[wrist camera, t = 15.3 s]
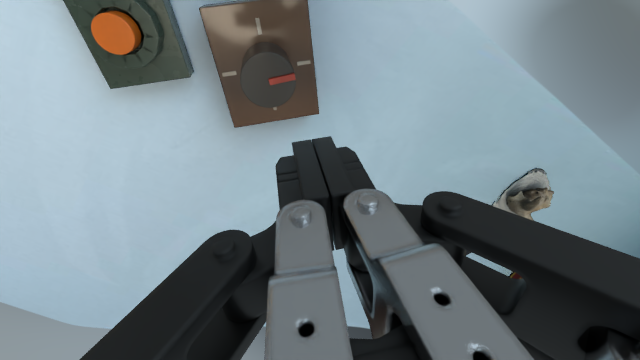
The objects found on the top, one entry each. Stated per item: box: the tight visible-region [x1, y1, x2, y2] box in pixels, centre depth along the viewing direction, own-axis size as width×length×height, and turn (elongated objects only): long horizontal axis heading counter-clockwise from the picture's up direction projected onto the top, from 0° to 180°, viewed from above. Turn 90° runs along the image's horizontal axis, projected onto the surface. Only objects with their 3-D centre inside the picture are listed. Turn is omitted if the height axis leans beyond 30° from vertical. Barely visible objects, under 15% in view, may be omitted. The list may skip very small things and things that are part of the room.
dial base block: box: [199, 0, 319, 128], centre depth 31 cm, size 12×10×3 cm
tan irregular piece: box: [493, 168, 554, 221], centre depth 51 cm, size 10×12×6 cm
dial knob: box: [240, 42, 296, 108], centre depth 28 cm, size 5×5×5 cm
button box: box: [63, 0, 194, 89], centre depth 27 cm, size 10×8×4 cm
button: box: [91, 11, 141, 55], centre depth 25 cm, size 3×3×2 cm
